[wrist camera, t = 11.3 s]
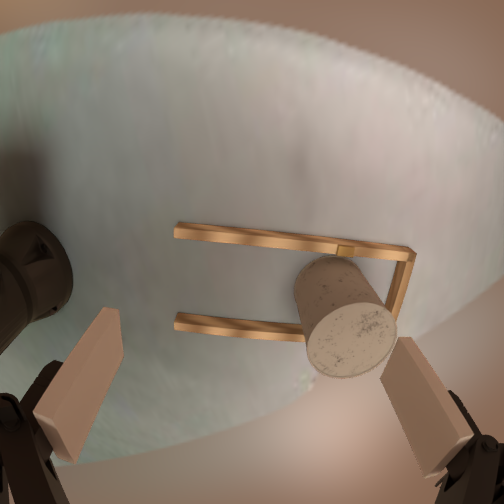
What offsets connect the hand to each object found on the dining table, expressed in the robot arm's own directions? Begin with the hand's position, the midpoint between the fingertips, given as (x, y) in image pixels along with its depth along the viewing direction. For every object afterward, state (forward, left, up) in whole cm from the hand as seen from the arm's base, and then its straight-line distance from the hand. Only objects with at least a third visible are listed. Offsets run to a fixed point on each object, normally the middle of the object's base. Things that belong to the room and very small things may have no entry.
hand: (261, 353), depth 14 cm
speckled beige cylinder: (+10, -9, -26) cm, 29 cm away
